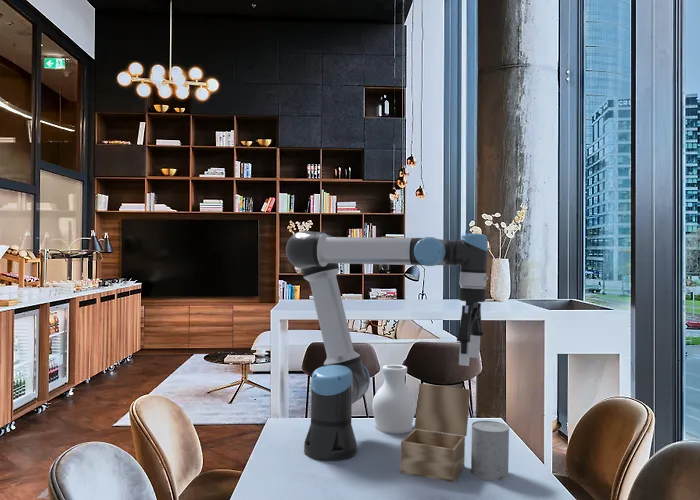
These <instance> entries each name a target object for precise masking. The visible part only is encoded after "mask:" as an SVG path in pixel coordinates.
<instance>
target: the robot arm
mask: <svg viewBox="0 0 700 500" xmlns="http://www.w3.org/2000/svg"><path fill="white" fill-rule="evenodd" d="M488 242H489V239H488V236H487V235H486V234H482V233H462V234H461V238H460V239H452V240H451V239H442V238H441V239H440V238H439V239H438V238H436V237H430V236H427V237H426V236H425V237H377V236H376V237H373V236H372V237H360V236H359V237H354V236H347V237H345V236H344V237H343V236H331V235H329V234H327V233H326V232H321V231H311V230H302V231H298V232H295V233H294V234H292V235H291V237H289V239H288V240H287V242H286V246H285V255H286V258H287V259H288V262H290V264H291V265H292V266H293V267H296V268H297V269H301V272H302V276H303V279H304V280H306V281H307V282H308V283H309V286H310V290H311V294H312V299H313V303H314V307H315V310H316V315H317V319H318V323H319V324H318V325H319V328H320V332H321V338H322V340H323V345H324V350H325V353H326V359H325V360H324V362H323V366H320V367H318V368H316V369H315V370H314V371H313V372H312V374H311V382H310V389H311V390H310V392H311V393H310V395H311V396H310V425H309V427H308V430H307V434H306V437H305V439H304V443H303V452H304V454H305V455H306V456H307V457H308V458H309V457H310V458H312V459H315V460H321V461H340V460H345V459H350V458H352V457H354V456H355V455H356V454H357V452H358V443H357V439H356V435H355V433H354V429H353V425H352V411H353V410H352V409H353V408H352V407H353V404H354V403H355V402H357V401H359V400H361V399H362V398H363V397H365V395H366V393H367V392H368V390H369V388H370V383H371V377H370V373H369V370H368V369H367V367H366V366H365V365H364V364H363V363H362V358H361V355H360V354H359V353H358V352H356V351H355V350H354V345H353V341H352V337H351V333H350V329H349V324H348V320H347V317H346V312H345V308H344V304H343V300H342V296H341V291H340V287H339V284H338V283H339V282H338V279H337V275H338V273H339V272H340V265H339V264H347V265H348V264H350V265H358V264H359V265H398V266H399V265H401V266H402V265H403V266H406V265H407V266H424V267H433V266H454V267H458V266H459V267H460V268H459V279H458V280H459V282H458V285H459V286H460V287H459V288H458V290H459V291H458V301H462V302H465V305H463V304H462V306H461V316H460V317H461V318H460V323H459V331H458V337H456V342H459V354H458V356H459V357H458V358H459V359H458V365H459V366H462V367H463V366H466V367H470V358H473V359H480V350H481V349H480V348H481V347H480V345H481V336H482V337H483V335H484V332H483V330H482V329H483V327H482V326H483V325H482V311H481V309H482V304H481V303H484V302H486V299H487V298H486V297H487V289H486V288H485V287H486V286H487V281H488V280H489V276H487V273H488V271H487V269H488V252H489V249H488V248H489V246H488V245H489V243H488Z"/></svg>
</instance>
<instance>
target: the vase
mask: <svg viewBox="0 0 700 500" xmlns="http://www.w3.org/2000/svg"><path fill="white" fill-rule="evenodd" d="M381 370H382V373H383V377H384V378H383V379H384V381H383V384H382V385H381V386H380V388H378V390H377V391H376V392H375V395H374V396H373V398H372V404H371V405H372V413H373V418H374V423H375V425H374V427H375V429H376V430H377V431H379V432H382V433H384V434H385V433H386V434H390V435H391V434H394V435H395V434H398V433H399V435H400V433H402V434H407V433H411V432H412V431H413V423H414V418H415V415H416V410H417V401H416V397H415V395H414V393H412V391H411V390H410V388H409V387H408V386H407V384H406V381H405V380H406V379H405V378H406V375H407V372H408V366H406V365H402V364H385V365H383V366H382V369H381ZM406 432H407V433H406Z"/></svg>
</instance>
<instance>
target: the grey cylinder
mask: <svg viewBox="0 0 700 500" xmlns="http://www.w3.org/2000/svg"><path fill="white" fill-rule="evenodd" d="M509 441H510V426H508V424H505V423H503V422H498V421H494V420H477V421H474V422H472V423H471V454H470V455H471V463H470V464H471V465H470V466H471V469H470V473H471V475H472V476H474V477H476V478H477V479H480V480H485V481H490V482H492V481H493V482H500V481H504V480H506V479H508V478H509V456H510V455H509V454H510V451H509V449H510V448H509V447H510V446H509V445H510V442H509Z"/></svg>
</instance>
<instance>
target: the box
mask: <svg viewBox="0 0 700 500" xmlns="http://www.w3.org/2000/svg"><path fill="white" fill-rule="evenodd" d="M465 440H466V436H461V435H454V434H448V433H441V432H434V431H427V430H421V429H415V428H414V429H412V430H411V431H410V432H409V434H407V436H406V437H405V438H403V439H402V440H401V441H400V473H401V474H406V475H411V476H417V477H423V478H428V479H434V480H439V481H445V482H449V481H450V482H449V483H455V482H456V480H457V479H458V478H459V475H460V474H461V473H462V471H463V469H464V467H465V460H466V459H465V455H466V454H465V453H466V451H465V449H466V448H465V445H466V442H465Z"/></svg>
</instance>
